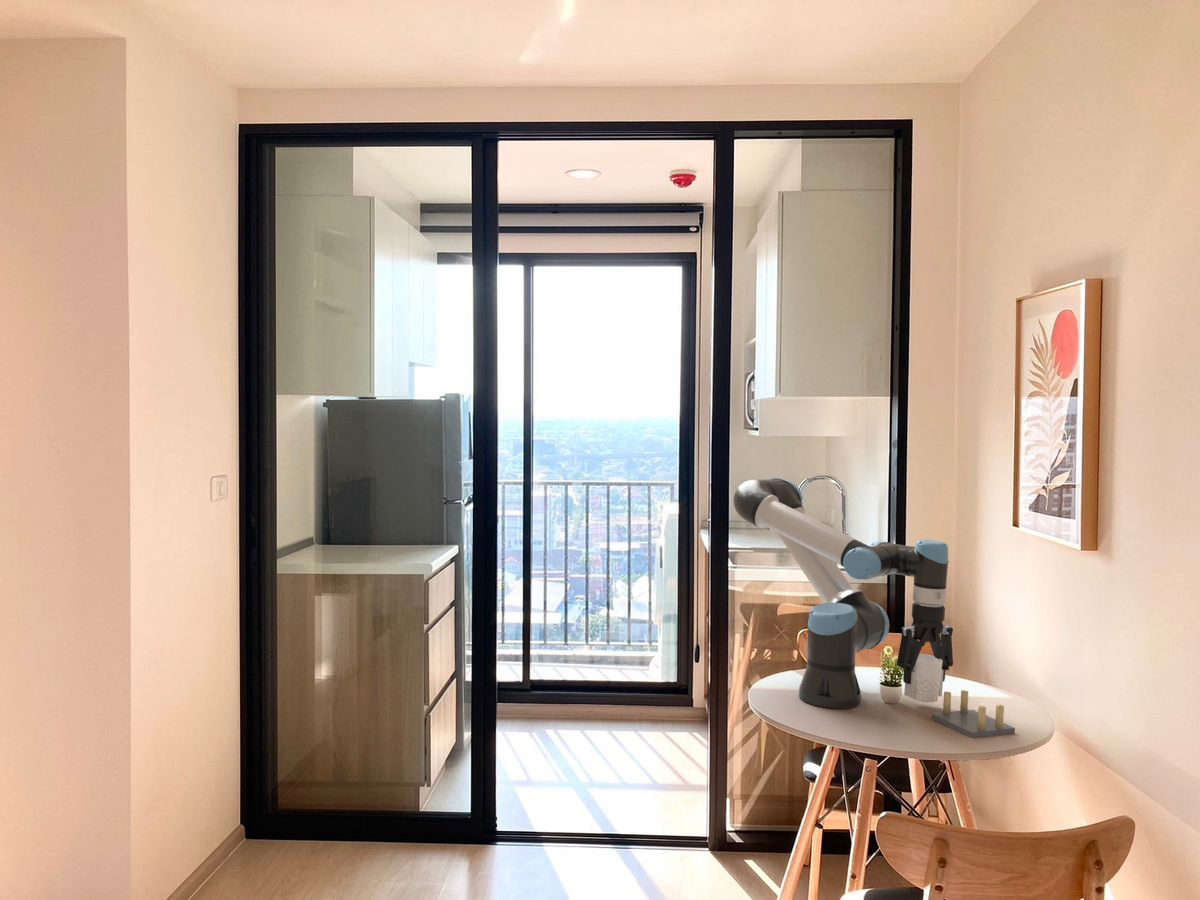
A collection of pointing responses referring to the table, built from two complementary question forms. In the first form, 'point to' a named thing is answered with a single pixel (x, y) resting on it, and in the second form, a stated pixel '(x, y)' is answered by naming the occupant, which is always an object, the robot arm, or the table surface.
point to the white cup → (927, 678)
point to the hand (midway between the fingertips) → (923, 695)
